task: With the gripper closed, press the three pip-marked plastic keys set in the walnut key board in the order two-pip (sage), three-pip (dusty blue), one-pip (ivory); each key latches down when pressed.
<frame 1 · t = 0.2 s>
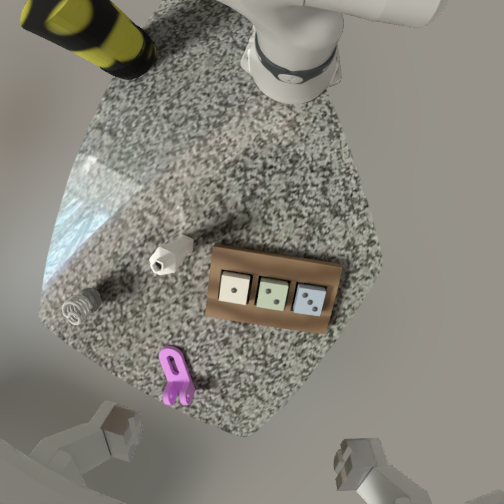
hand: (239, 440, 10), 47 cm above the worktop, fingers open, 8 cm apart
perfume bottle: (184, 243, 58), on the worktop
key board: (272, 288, 59), on the worktop
bracket: (177, 368, 65), on the worktop
light bulb: (98, 293, 62), on the worktop
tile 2: (272, 294, 56), point 3 cm above the worktop, slide at 0.0 cm
container: (134, 58, 49), on the worktop
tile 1: (234, 287, 56), point 3 cm above the worktop, slide at 0.0 cm
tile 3: (309, 299, 55), point 3 cm above the worktop, slide at 0.0 cm
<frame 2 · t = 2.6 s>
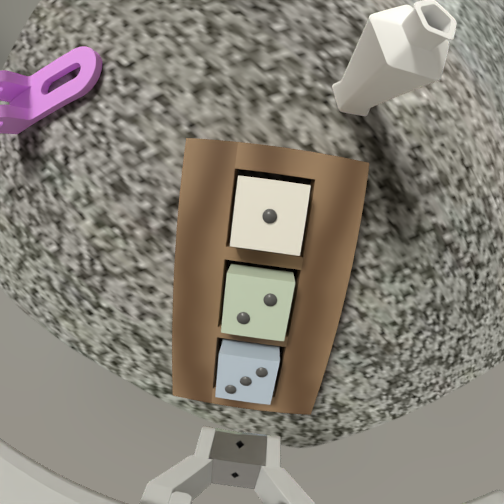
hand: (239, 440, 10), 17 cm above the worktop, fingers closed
perfume bottle: (355, 96, 22), on the worktop
key board: (259, 289, 27), on the worktop
bracket: (55, 89, 23), on the worktop
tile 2: (257, 302, 24), point 3 cm above the worktop, slide at 0.0 cm
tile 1: (269, 214, 22), point 3 cm above the worktop, slide at 0.0 cm
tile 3: (246, 372, 25), point 3 cm above the worktop, slide at 0.0 cm
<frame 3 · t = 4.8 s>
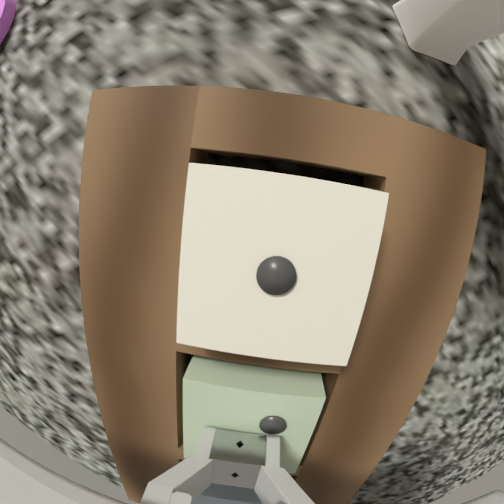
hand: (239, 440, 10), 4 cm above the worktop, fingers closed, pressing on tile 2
perfume bottle: (432, 30, 9), on the worktop
key board: (252, 385, 13), on the worktop
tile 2: (248, 415, 11), point 2 cm above the worktop, slide at 0.8 cm, touching gripper
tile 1: (276, 262, 9), point 3 cm above the worktop, slide at 0.0 cm
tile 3: (231, 501, 12), point 3 cm above the worktop, slide at 0.0 cm
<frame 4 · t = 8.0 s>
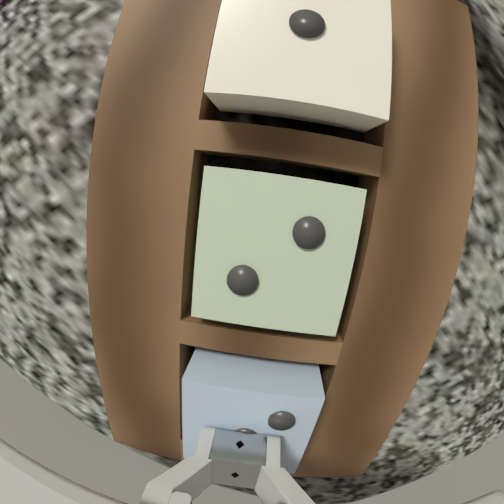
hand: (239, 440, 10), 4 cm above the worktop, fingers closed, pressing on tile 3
key board: (275, 238, 12), on the worktop
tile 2: (275, 247, 11), point 2 cm above the worktop, slide at 1.3 cm
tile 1: (303, 40, 8), point 3 cm above the worktop, slide at 0.0 cm
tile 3: (247, 416, 11), point 3 cm above the worktop, slide at 0.2 cm, touching gripper
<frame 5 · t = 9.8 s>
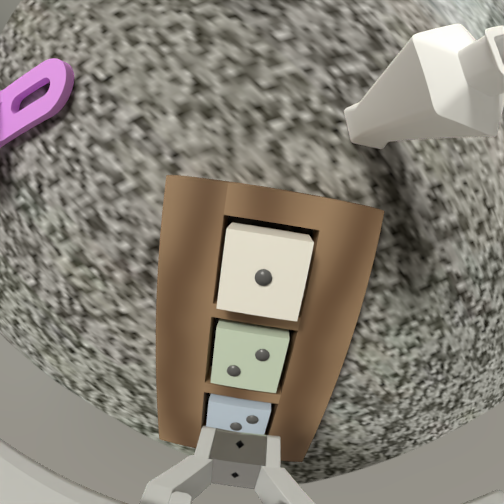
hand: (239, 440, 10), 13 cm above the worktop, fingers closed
perfume bottle: (370, 123, 19), on the worktop
key board: (250, 342, 23), on the worktop
bracket: (27, 106, 20), on the worktop
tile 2: (249, 354, 22), point 2 cm above the worktop, slide at 1.3 cm
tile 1: (264, 271, 19), point 3 cm above the worktop, slide at 0.0 cm
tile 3: (237, 416, 23), point 2 cm above the worktop, slide at 1.3 cm
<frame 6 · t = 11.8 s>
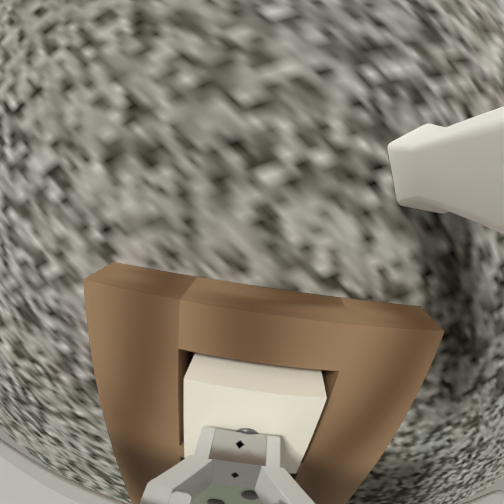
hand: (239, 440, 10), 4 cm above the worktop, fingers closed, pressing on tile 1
perfume bottle: (428, 169, 11), on the worktop
key board: (238, 462, 15), on the worktop
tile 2: (235, 483, 14), point 2 cm above the worktop, slide at 1.3 cm
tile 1: (249, 416, 11), point 2 cm above the worktop, slide at 0.7 cm, touching gripper
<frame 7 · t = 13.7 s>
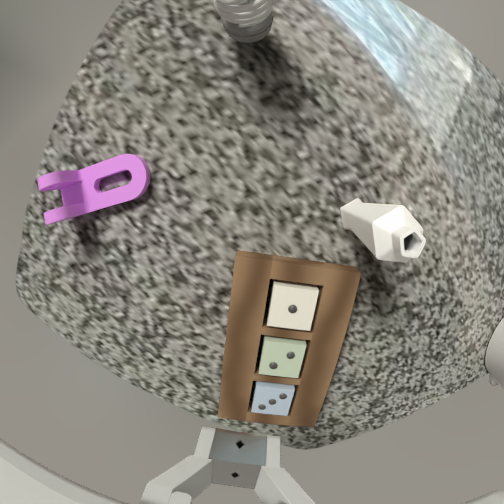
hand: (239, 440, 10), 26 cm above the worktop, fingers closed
perfume bottle: (356, 215, 33), on the worktop
key board: (281, 347, 38), on the worktop
bracket: (106, 185, 34), on the worktop
light bulb: (250, 35, 29), on the worktop
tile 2: (281, 355, 36), point 2 cm above the worktop, slide at 1.3 cm
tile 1: (291, 304, 34), point 2 cm above the worktop, slide at 1.3 cm
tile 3: (272, 396, 38), point 2 cm above the worktop, slide at 1.3 cm
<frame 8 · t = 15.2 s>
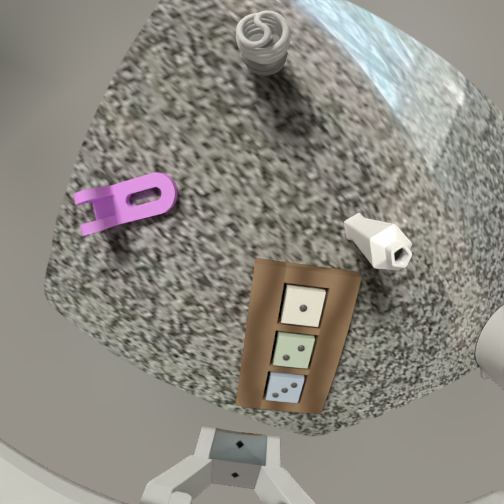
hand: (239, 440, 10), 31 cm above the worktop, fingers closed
perfume bottle: (358, 227, 39), on the worktop
key board: (292, 342, 43), on the worktop
bracket: (136, 199, 40), on the worktop
light bulb: (265, 66, 34), on the worktop
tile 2: (293, 348, 41), point 2 cm above the worktop, slide at 1.3 cm
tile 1: (302, 304, 40), point 2 cm above the worktop, slide at 1.3 cm
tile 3: (284, 385, 43), point 2 cm above the worktop, slide at 1.3 cm
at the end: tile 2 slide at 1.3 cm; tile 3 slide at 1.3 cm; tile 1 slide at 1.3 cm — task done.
